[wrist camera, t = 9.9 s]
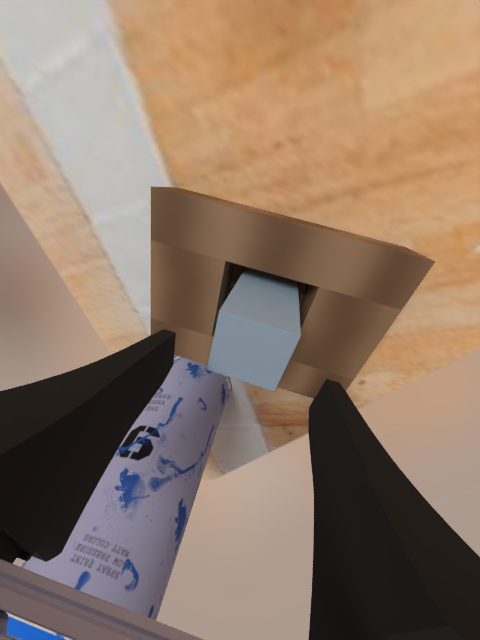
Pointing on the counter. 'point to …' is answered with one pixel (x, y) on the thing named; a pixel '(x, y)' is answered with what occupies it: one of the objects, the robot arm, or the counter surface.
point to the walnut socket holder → (283, 260)
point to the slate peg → (257, 329)
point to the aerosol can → (140, 501)
